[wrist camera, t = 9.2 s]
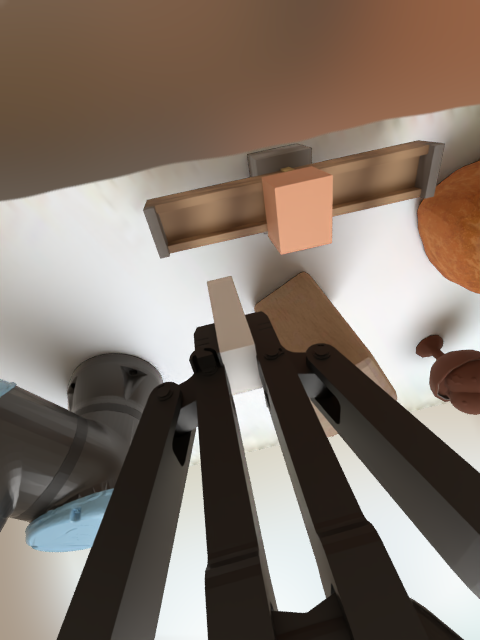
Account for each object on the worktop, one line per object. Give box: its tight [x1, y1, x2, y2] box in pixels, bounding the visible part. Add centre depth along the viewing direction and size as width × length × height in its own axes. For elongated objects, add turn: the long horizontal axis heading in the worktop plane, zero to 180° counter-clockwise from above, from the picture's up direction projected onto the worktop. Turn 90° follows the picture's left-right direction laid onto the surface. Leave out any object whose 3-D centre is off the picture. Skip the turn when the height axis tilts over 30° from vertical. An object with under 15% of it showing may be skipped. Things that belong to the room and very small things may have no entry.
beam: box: [143, 140, 445, 258], centre depth 34 cm, size 30×8×9 cm, turn 100°
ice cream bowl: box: [416, 335, 480, 415], centre depth 53 cm, size 11×11×15 cm
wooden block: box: [254, 272, 397, 437], centre depth 41 cm, size 10×10×20 cm
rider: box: [262, 166, 333, 255], centre depth 29 cm, size 5×6×6 cm
